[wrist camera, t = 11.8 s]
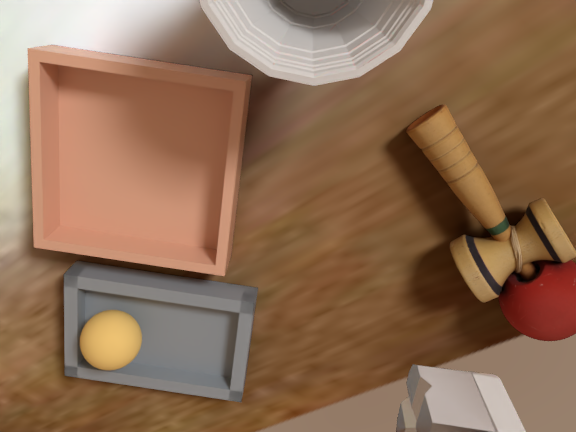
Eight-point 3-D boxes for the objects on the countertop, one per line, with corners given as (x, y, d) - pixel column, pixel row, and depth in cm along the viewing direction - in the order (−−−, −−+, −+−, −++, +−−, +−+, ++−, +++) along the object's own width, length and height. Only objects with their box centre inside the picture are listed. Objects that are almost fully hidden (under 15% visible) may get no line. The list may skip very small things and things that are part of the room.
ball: (135, 334, 38) (71, 328, 38) (133, 385, 40) (71, 380, 39) (148, 301, 42) (90, 296, 42) (145, 349, 44) (89, 344, 43)
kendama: (364, 152, 39) (502, 346, 41) (380, 156, 33) (541, 383, 35) (454, 87, 39) (589, 286, 41) (487, 77, 32) (645, 314, 35)
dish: (252, 75, 36) (246, 81, 33) (231, 256, 41) (224, 276, 38) (51, 44, 36) (27, 48, 33) (54, 229, 41) (33, 247, 38)
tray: (257, 287, 42) (254, 303, 40) (244, 383, 45) (241, 402, 43) (76, 260, 42) (63, 274, 40) (76, 358, 45) (64, 375, 43)
